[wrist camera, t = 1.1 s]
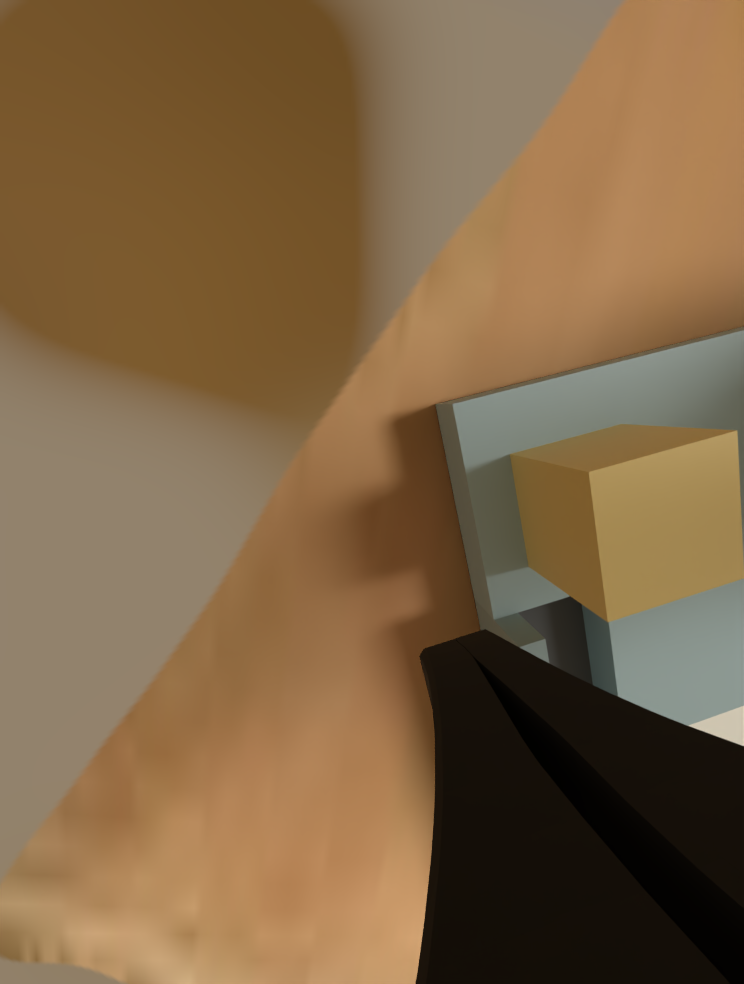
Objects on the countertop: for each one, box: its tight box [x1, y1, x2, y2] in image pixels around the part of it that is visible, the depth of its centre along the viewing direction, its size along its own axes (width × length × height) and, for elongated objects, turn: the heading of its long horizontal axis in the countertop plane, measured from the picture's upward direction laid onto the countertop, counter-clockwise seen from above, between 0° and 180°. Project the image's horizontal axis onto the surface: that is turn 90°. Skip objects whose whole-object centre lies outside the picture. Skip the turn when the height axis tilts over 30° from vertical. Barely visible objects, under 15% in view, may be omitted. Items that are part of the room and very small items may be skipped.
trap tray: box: [435, 326, 744, 746], centre depth 19 cm, size 17×24×4 cm
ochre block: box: [510, 424, 744, 622], centre depth 15 cm, size 4×4×4 cm
